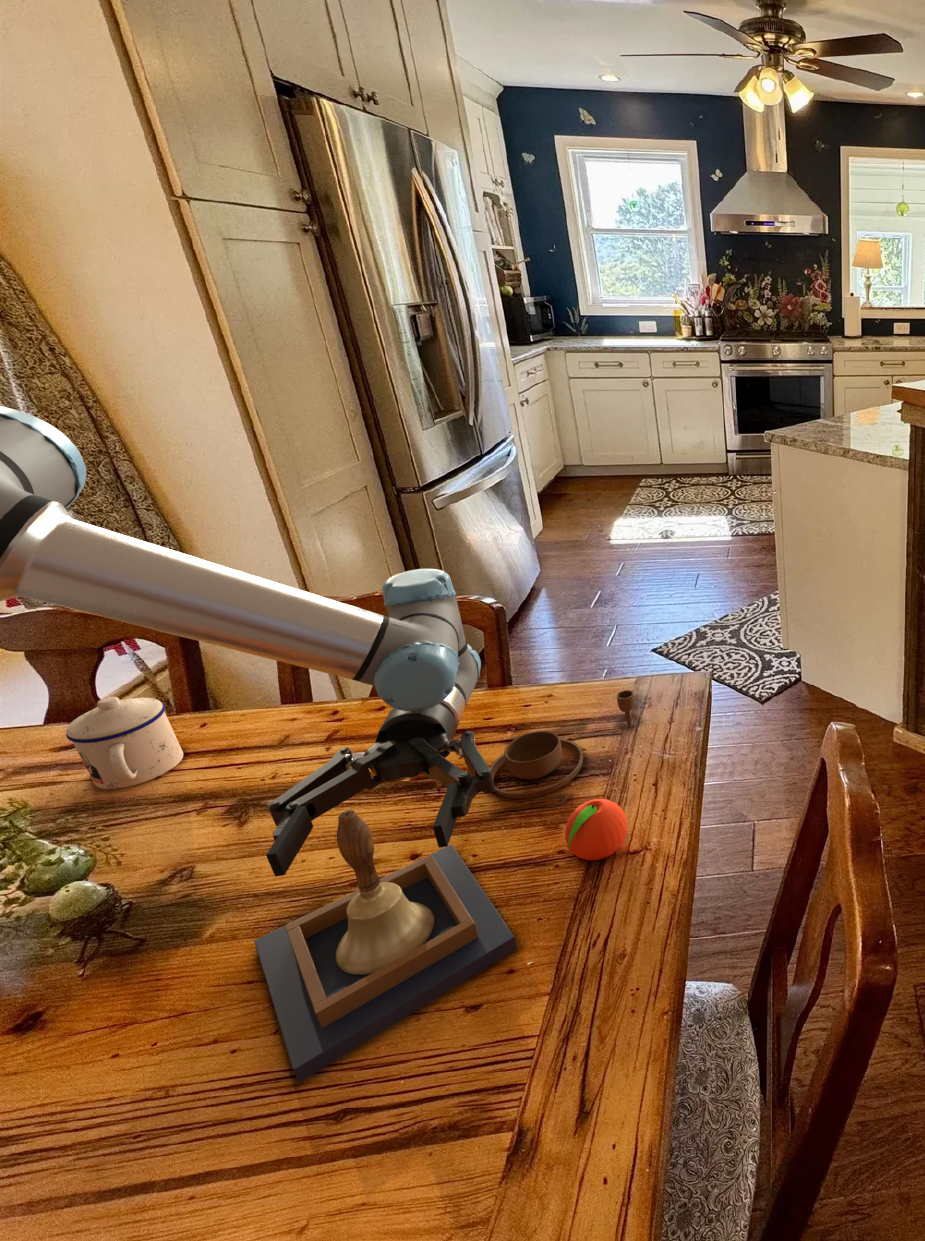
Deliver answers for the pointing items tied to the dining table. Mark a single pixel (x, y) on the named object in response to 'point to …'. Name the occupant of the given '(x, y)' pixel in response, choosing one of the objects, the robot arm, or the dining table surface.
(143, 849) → the dining table surface
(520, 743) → the place setting
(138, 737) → the teacup with lid
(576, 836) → the clementine
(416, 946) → the hand bell
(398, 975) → the bell stand
